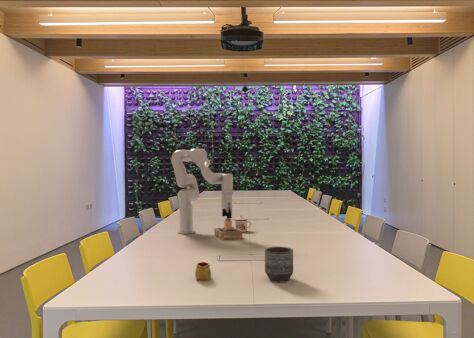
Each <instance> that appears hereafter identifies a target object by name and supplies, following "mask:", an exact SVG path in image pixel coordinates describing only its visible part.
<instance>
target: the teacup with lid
mask: <svg viewBox="0 0 474 338" xmlns="http://www.w3.org/2000/svg"><path fill="white" fill-rule="evenodd" d="M248 223H249V226H248ZM234 227H235V228H237V229H239V230H242V233H245V232H247V231H248V229H250V228H251V227H252V221H249V220H248V219H247V217H244V216H243V215H242V214H239V216H237V217H235V218H234Z"/></svg>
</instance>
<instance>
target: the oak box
mask: <svg viewBox="0 0 474 338" xmlns="http://www.w3.org/2000/svg"><path fill="white" fill-rule="evenodd" d="M213 229H214V237H216V238H217V239H220V240H221V241H226V240H227V241H228V240H238V239H243V232H242V230H239V229H237V228H235V226H232V229H229V230H225V229H224V227H217V228H213Z"/></svg>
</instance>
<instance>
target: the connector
mask: <svg viewBox="0 0 474 338" xmlns="http://www.w3.org/2000/svg"><path fill="white" fill-rule="evenodd" d="M231 219H232V218H229V219H227V218H224V220H223V226H224V227H223V228H224V229H225V230H229V229H232V227H233V226H232V225H233V221H232V220H231Z"/></svg>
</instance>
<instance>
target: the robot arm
mask: <svg viewBox="0 0 474 338" xmlns="http://www.w3.org/2000/svg"><path fill="white" fill-rule="evenodd" d="M207 156H208V152H207V151H206V150H205V149H203V148H191V149H177V150H175V151H174V152H173V153H172V155H171V160H170V161H171V164H172V167H173V168H172V169H173V171H174V176H175V180H176V181H175V182H176V185H177V186H178V187H180V188H183V189H180V190H179V191H178V192H177V200H178V206H179V207H178V208H179V209H178V210H179V230H177V234H181V235H182V234H183V235H186V234H187V235H188V234H194V233H196V230H195V229H194V219H193V218H194V217H193V216H194V214H193V213H194V212H193V210H194V209H193V204H192V202H195V201H197V200H198V199H199V197H200V191H199V185H198V181H197V178H196V177H195V175H193V174H191V173H187V168H186V165H185V164H184V163H183V162H193V163H194V164H195V165H196V166H197V167H198V168H199V169H200V173H201V176H202V177H203V179H204V180H205V181H206V182H207V183H209V184H211V185H221V202H220V203H221V205H220V208H221V210H222V212H221V216H222V217H226V219H232V217H233V194H234V193H233V192H234V175H233V174H232V173H224V172H213V171H212V170H211V169H210V168H209V167H210V164H211V161H210V160H209V158H208V157H207Z"/></svg>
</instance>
